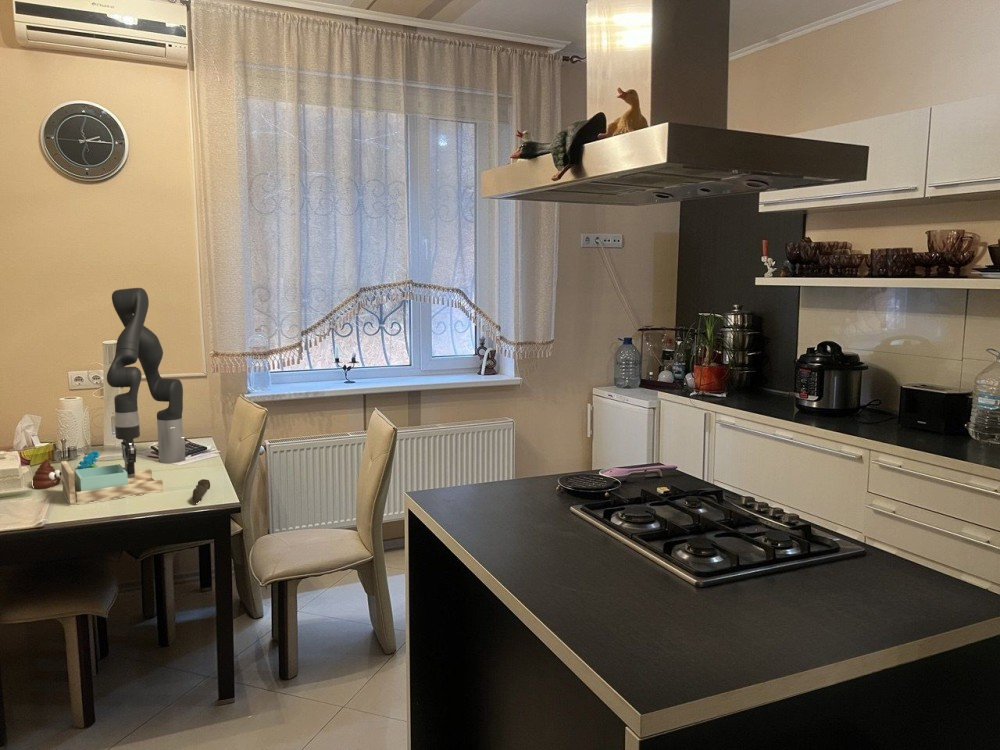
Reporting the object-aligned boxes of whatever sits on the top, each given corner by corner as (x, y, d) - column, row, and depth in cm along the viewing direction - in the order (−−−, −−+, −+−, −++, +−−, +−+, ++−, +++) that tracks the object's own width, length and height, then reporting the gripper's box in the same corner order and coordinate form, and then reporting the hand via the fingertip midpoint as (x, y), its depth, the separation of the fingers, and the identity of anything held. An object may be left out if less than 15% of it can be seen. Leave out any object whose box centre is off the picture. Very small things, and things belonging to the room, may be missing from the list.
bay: (151, 479, 272) (149, 450, 271) (163, 491, 258) (161, 460, 256) (63, 492, 256) (60, 461, 254) (70, 506, 241) (68, 473, 240)
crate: (131, 481, 266) (130, 453, 265) (139, 490, 256) (137, 460, 254) (75, 489, 256) (73, 460, 254) (81, 498, 245) (79, 468, 244)
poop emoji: (43, 481, 269) (41, 456, 268) (67, 481, 269) (65, 456, 268) (25, 489, 259) (23, 463, 258) (50, 490, 259) (48, 463, 258)
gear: (72, 466, 284) (92, 445, 286) (85, 474, 287) (104, 454, 290) (79, 476, 276) (100, 455, 278) (92, 484, 279) (112, 464, 282)
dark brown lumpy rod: (198, 489, 262) (197, 477, 261) (210, 489, 263) (210, 476, 262) (186, 506, 244) (185, 493, 243) (199, 506, 244) (198, 492, 244)
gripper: (143, 426, 254) (146, 475, 256) (134, 419, 265) (137, 466, 267) (119, 429, 249) (122, 479, 251) (111, 421, 260) (114, 470, 263)
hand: (130, 472), depth 259 cm, fingers closed on crate, 3 cm apart
